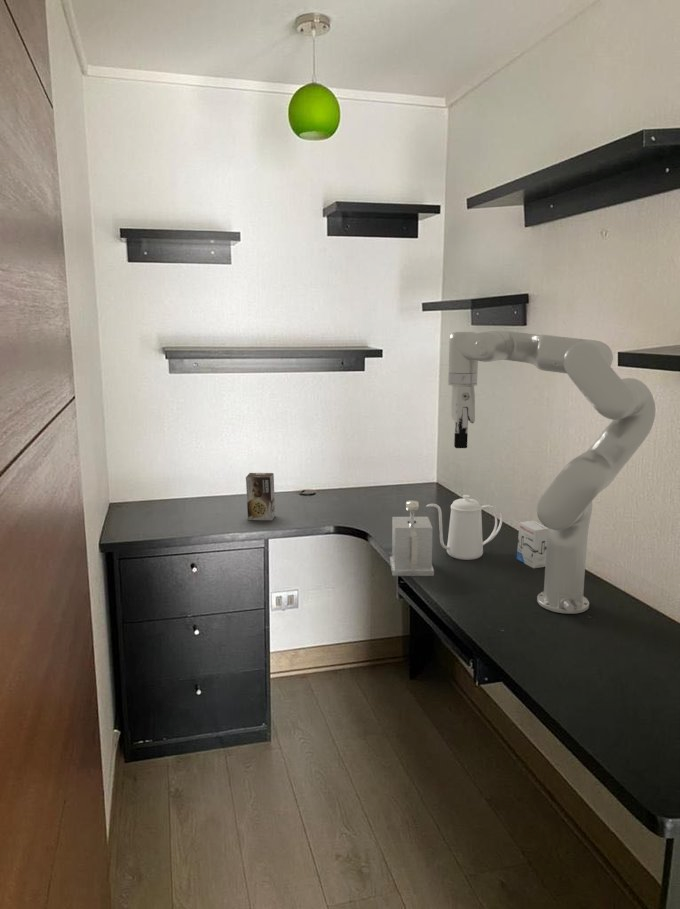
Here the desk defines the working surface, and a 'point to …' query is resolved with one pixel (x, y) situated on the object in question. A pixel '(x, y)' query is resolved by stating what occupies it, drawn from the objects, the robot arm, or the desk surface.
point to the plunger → (412, 508)
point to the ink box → (532, 544)
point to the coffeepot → (466, 528)
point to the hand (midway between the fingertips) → (460, 447)
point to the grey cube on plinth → (411, 547)
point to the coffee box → (260, 496)
